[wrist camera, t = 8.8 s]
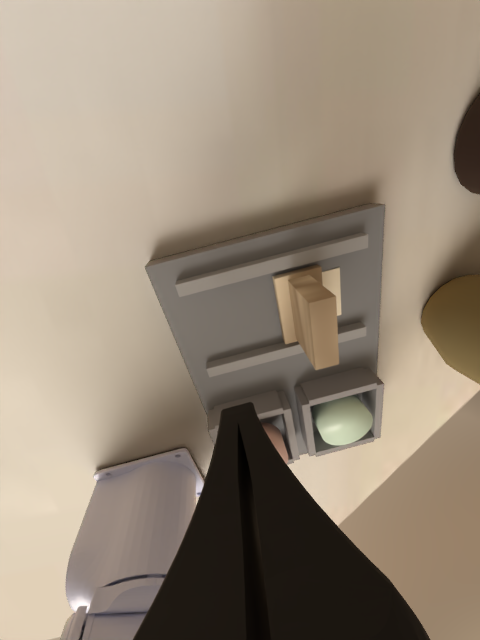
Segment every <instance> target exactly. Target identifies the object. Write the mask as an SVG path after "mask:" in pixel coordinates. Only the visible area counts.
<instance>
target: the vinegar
mask: <svg viewBox="0 0 480 640" xmlns="http://www.w3.org/2000/svg"><path fill="white" fill-rule="evenodd" d="M454 162H455V172H456V174H457V176H458V179H459V181H460V183H461V185H463V186H464V187H465V188H466V189H468V190H469V191H470V192H472V193H476V194H480V94H479V95H478V97H477V98H476V100H475V101H474V103H473V104H472V106H471V107H470V109H469V110H468V112H467V114H466V116H465V118H464V121H463V123H462V125H461V128H460V130H459V132H458V136H457V141H456V146H455V151H454Z"/></svg>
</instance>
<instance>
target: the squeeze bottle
mask: <svg viewBox="0 0 480 640" xmlns="http://www.w3.org/2000/svg"><path fill="white" fill-rule="evenodd" d="M421 324H422V327H423V330H424V332H425V334H426V335H427V337H428V338H429V339H430V341H431V342H432V344H433V345H434V347H435V348H436V350H437V351H438V352H439V354H440V355H441V357H442V358H443V360H444V361H445V362H446V364H447V365H449V366H450V367H452V368H453V369H455V370H456V371H458V372H459V373H461V374H463V375H465V376H466V377H468V378H470V379H471V380H473V381H475V382H477V383H478V384H480V274H478V275H466V276H462V277H458V278H455V279H453V280H451V281H450V282H448V283H446V284H445V285H443V286H441V287H440V288H439V289H438V290H437V291H436V292H435V293H434V294H433V295H432V297H431V298H430V299H429V301H428V303H427V304H426V306H425V308H424V310H423V313H422V320H421Z"/></svg>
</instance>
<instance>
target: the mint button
mask: <svg viewBox="0 0 480 640" xmlns="http://www.w3.org/2000/svg"><path fill="white" fill-rule="evenodd" d="M312 418H313V420H314V422H315V424H316V426H317V428H318V430H319V432H320V434H321V437H322V439H323V440H324V441H325V442H326V443H328V444H331V445H346V444H350V443H352V442H355V441H357V440H359V439H360V438H362V437H363V436H364V435H365V434H366V433H367V432H368V431H369V430H370V428H371V426H372V423H373V417H372V415H371V413H370V412H369V411H368V409H367V408H366V407H365V405H364V404H363V403H362V401H361V400H360V399H359V397H358V396H357V395H356V394H354V395H350V396H347V397H343V398H339V399H335V400H332V401H328V402H324V403H320V404H317V405H314V407H313V409H312Z"/></svg>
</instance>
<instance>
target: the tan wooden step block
mask: <svg viewBox="0 0 480 640" xmlns="http://www.w3.org/2000/svg"><path fill="white" fill-rule="evenodd" d="M272 278H273V283H274V289H275V295H276V301H277V307H278V313H279V318H280V324H281V330H282V336H283V341H284V342H285V344H289V343H293V342H297V341H298V342H299V344H300V346H301V347H302V349H303V350H304V352H305V354H306V355H307V357H308V358H309V360H310V362H311V363H312V365H313V366H314V368H315V370H319V369H323V368H327V367H330V366H334V365H338V364H339V349H338V327H337V304H336V296H335V295H334V294H333V293H332V292H330V291H329V290H328V289H327V288H325V287H324V286H323V283H322V268H321V266H319V265H318V264H317V265H313V266H310V267H306V268H302V269H298V270H294V271H291V272H287V273H283V274H279V275H275V276H272Z"/></svg>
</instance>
